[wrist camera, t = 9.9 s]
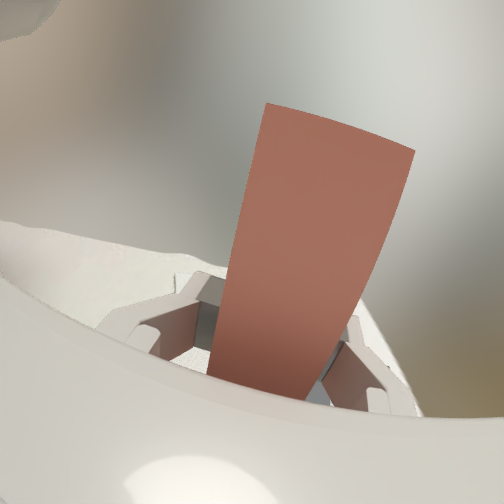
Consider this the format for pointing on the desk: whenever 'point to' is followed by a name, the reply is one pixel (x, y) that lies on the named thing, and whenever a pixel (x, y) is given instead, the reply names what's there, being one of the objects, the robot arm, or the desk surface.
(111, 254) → the desk surface
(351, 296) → the pink rectangular bar
